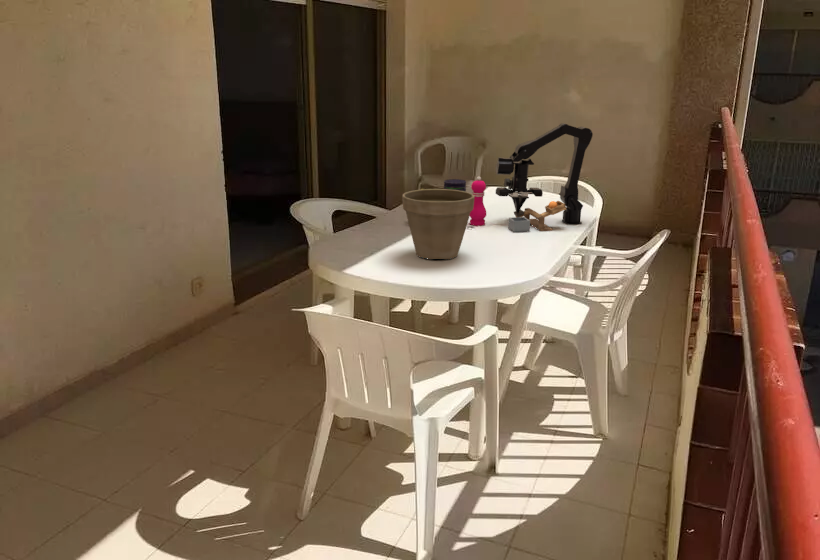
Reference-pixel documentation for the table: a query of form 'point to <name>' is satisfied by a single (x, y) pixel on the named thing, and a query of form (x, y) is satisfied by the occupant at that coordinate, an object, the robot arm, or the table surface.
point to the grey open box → (519, 224)
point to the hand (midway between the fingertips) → (517, 212)
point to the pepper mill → (478, 203)
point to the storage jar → (455, 184)
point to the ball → (552, 204)
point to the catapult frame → (538, 223)
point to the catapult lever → (548, 212)
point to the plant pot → (437, 220)
